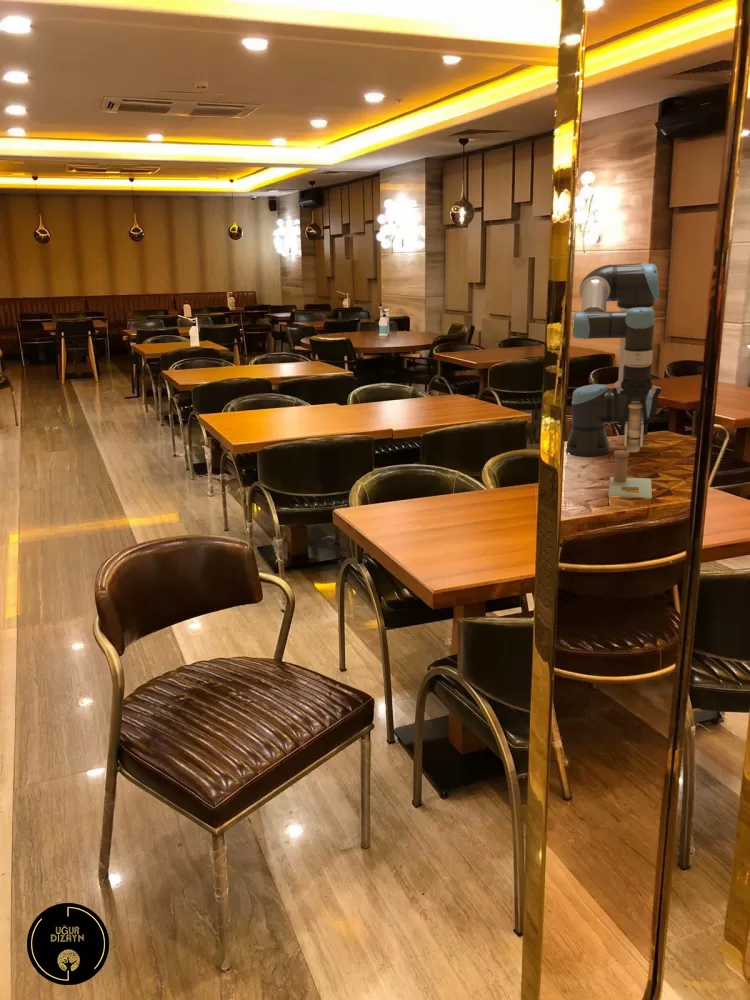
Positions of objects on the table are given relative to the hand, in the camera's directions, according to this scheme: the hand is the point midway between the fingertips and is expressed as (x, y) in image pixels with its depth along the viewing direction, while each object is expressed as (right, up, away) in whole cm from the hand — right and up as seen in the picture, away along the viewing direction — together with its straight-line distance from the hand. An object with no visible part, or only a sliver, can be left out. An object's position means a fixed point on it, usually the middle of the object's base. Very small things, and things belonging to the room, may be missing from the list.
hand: (633, 445), depth 236 cm
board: (+1, -16, +8) cm, 18 cm away
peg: (0, -2, 0) cm, 2 cm away
